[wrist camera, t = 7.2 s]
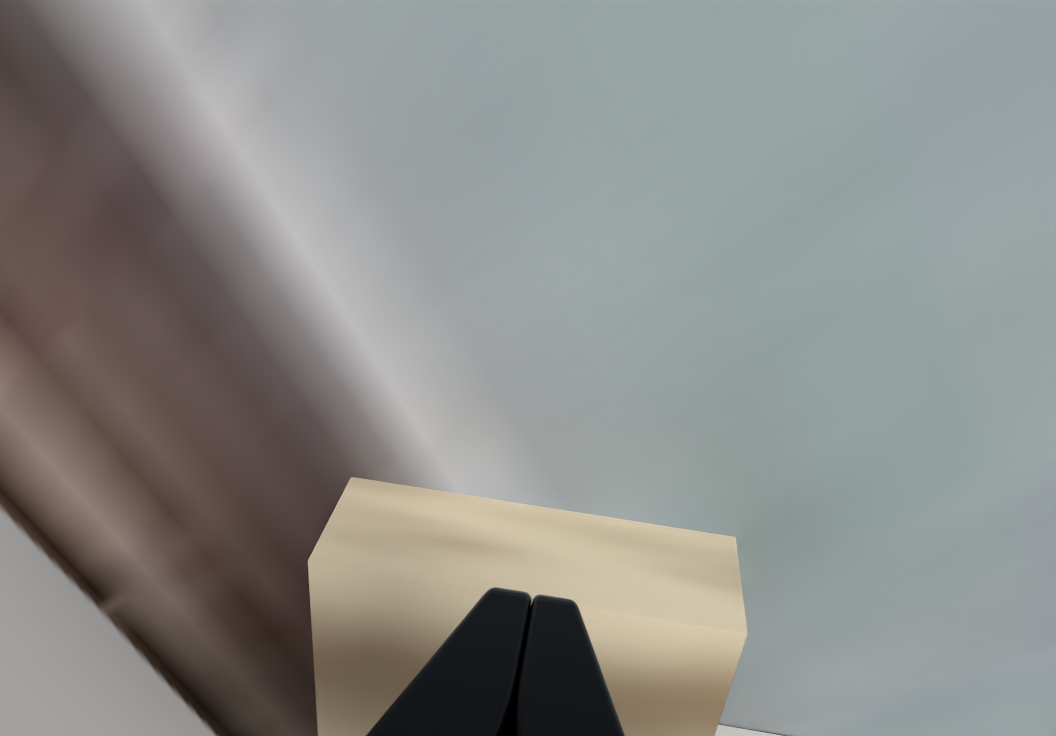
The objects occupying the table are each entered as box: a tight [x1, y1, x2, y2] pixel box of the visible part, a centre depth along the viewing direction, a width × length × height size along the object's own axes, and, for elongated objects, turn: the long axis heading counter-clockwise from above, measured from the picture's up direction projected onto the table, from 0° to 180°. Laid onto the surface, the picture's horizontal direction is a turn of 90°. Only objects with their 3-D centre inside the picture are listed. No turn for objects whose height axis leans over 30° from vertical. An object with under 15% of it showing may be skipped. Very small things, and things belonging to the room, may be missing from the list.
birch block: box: [308, 477, 748, 736], centre depth 22 cm, size 7×10×4 cm
